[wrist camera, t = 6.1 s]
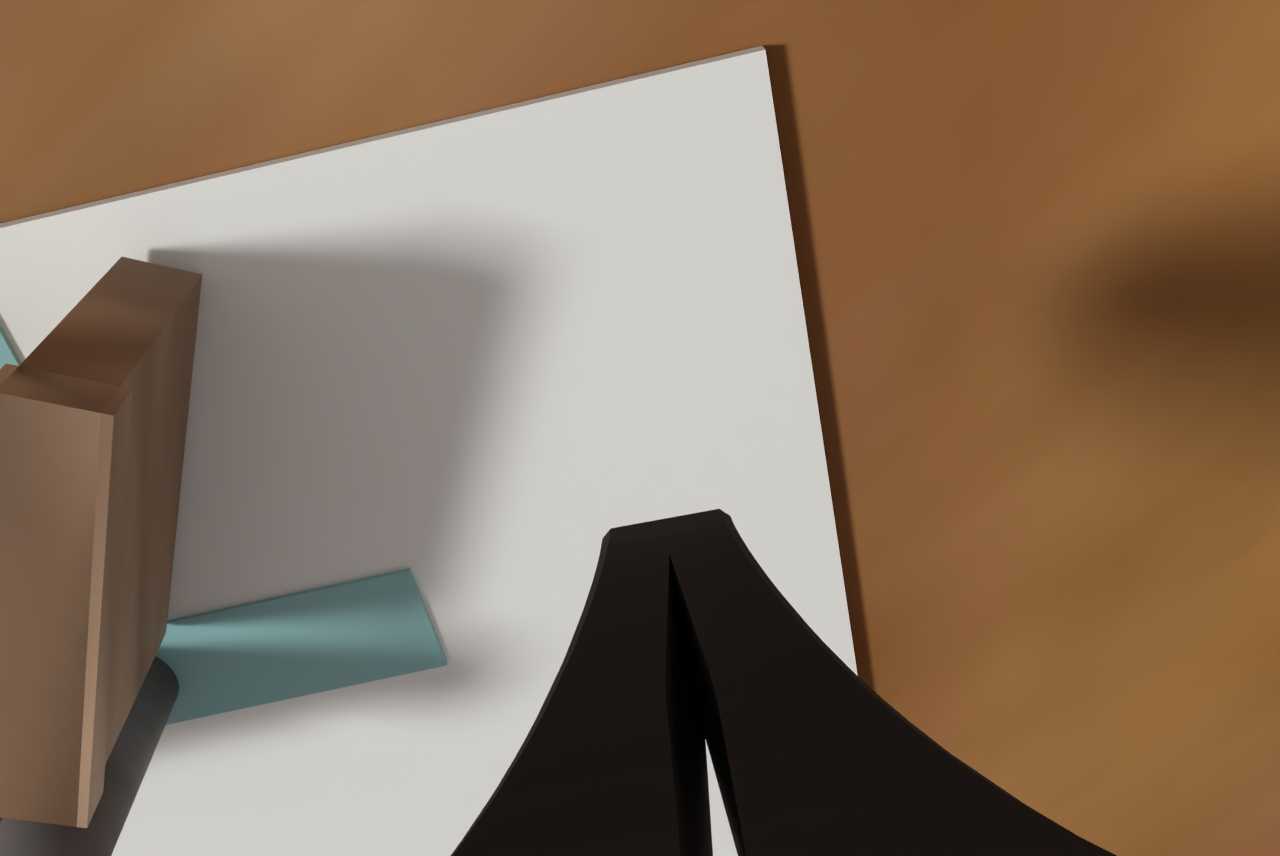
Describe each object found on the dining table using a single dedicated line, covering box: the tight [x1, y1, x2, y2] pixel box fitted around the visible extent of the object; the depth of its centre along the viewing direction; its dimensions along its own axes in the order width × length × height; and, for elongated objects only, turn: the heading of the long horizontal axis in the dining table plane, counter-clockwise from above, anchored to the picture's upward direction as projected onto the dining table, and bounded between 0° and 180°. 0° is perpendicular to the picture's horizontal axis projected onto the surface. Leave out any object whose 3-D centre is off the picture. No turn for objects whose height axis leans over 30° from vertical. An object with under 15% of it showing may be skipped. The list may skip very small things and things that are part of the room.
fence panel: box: [0, 257, 202, 828], centre depth 17 cm, size 2×7×4 cm, turn 164°
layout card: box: [0, 46, 858, 856], centre depth 21 cm, size 18×24×1 cm
